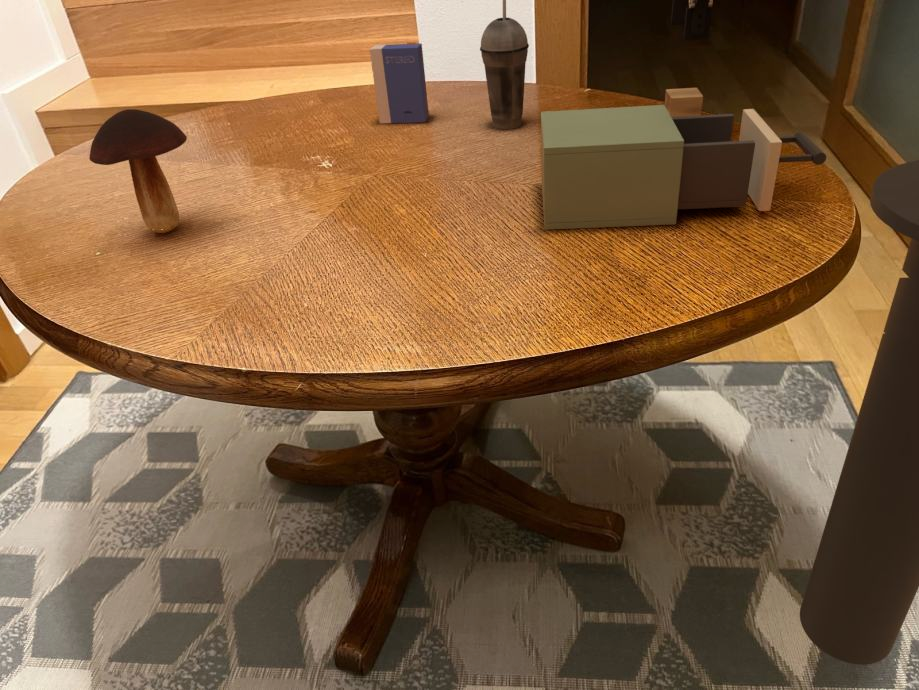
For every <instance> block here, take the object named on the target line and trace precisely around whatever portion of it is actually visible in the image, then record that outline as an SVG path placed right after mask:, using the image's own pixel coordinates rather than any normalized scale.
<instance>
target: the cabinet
mask: <svg viewBox="0 0 919 690" xmlns="http://www.w3.org/2000/svg"><path fill="white" fill-rule="evenodd" d="M683 147H684V140H683V138H682V136H681V134H680V132H679V131H678V129H677V127H676V125H675V123H674V121H673V120H672V118H671V116H670V114H669V112H668V111H667V109H666V107H665V104H657V105H656V104H654V105H653V104H651V105H636V106H635V105H634V106H618V107H617V106H616V107H603V108H601V107H600V108H585V109H584V108H583V109H565V110H550V111H549V110H548V111H547V110H546V111H540V158H541V168H540V169H541V170H540V171H541V195H542V210H543V211H542V212H543V226H544V231H549V230H551V231H552V230H553V231H554V230H573V229H575V230H576V229H597V228H600V229H601V228H620V227H621V228H624V227H644V226H645V227H646V226H647V227H648V226H649V227H650V226H669V225H677V219H678V218H677V217H678V210H679V209H678V199H679V189H680V179H681V168H682V158H683Z"/></svg>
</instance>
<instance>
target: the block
mask: <svg viewBox="0 0 919 690" xmlns="http://www.w3.org/2000/svg"><path fill="white" fill-rule="evenodd" d="M664 98H665V99H664V105H665V107H666V109H667V111H668V112H669V114H670V116H671V117H683V116H700V115H702V109H703V103H704V102H703V101H704V96H703V94H702V93H701V91H700V90H699V88H698V87H686V88H685V87H684V88H669V89H668V88H667V89H666V88H665V95H664Z"/></svg>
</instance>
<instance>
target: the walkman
mask: <svg viewBox="0 0 919 690" xmlns="http://www.w3.org/2000/svg"><path fill="white" fill-rule="evenodd" d="M369 55H370V62H371V71H372V78H373V85H374V93H375V101H376V107H377V113H378V122H379V124H412V123H413V124H415V123H416V124H417V123H426V122H427V121H428V119H429V118H430V114H429V102H428V93H427V83H426V73H425V72H426V71H425V63H424V53H423V44H422V42H421V43H416V41H407V42H406V43H399V44H397V43H396V44H395V43H394V44H393V43H392V44H375V45H374V46H372V47H370V48H369Z"/></svg>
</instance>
